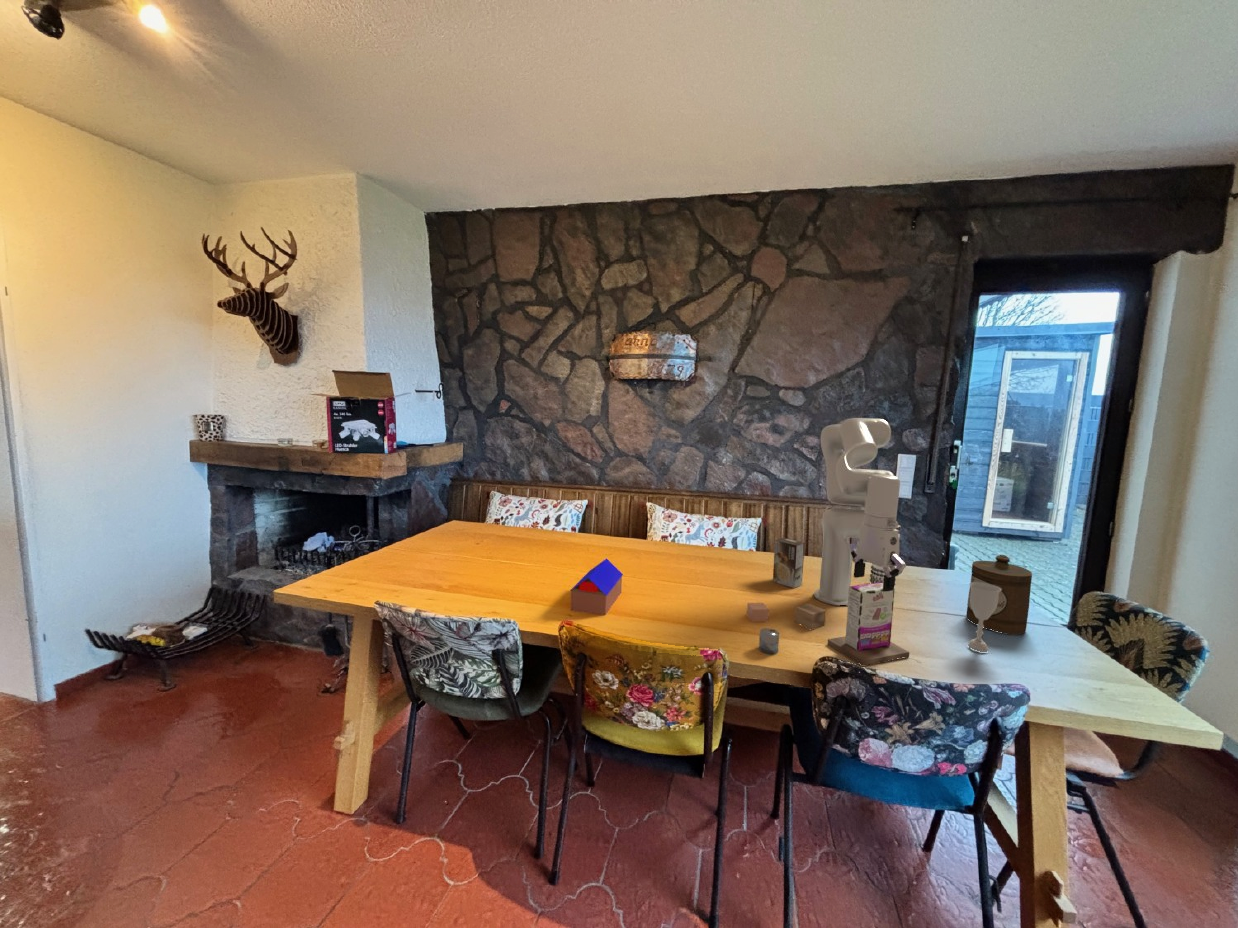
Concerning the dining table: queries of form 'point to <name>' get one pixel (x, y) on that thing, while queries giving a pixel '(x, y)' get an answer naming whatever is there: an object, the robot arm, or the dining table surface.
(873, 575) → the decorative candle
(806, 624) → the dark oak block
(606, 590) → the house
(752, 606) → the terracotta block
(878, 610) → the candy bar box
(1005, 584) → the wooden container
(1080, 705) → the dining table surface
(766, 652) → the grey metal cylinder
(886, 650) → the walnut board
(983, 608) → the chalice
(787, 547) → the coffee box
